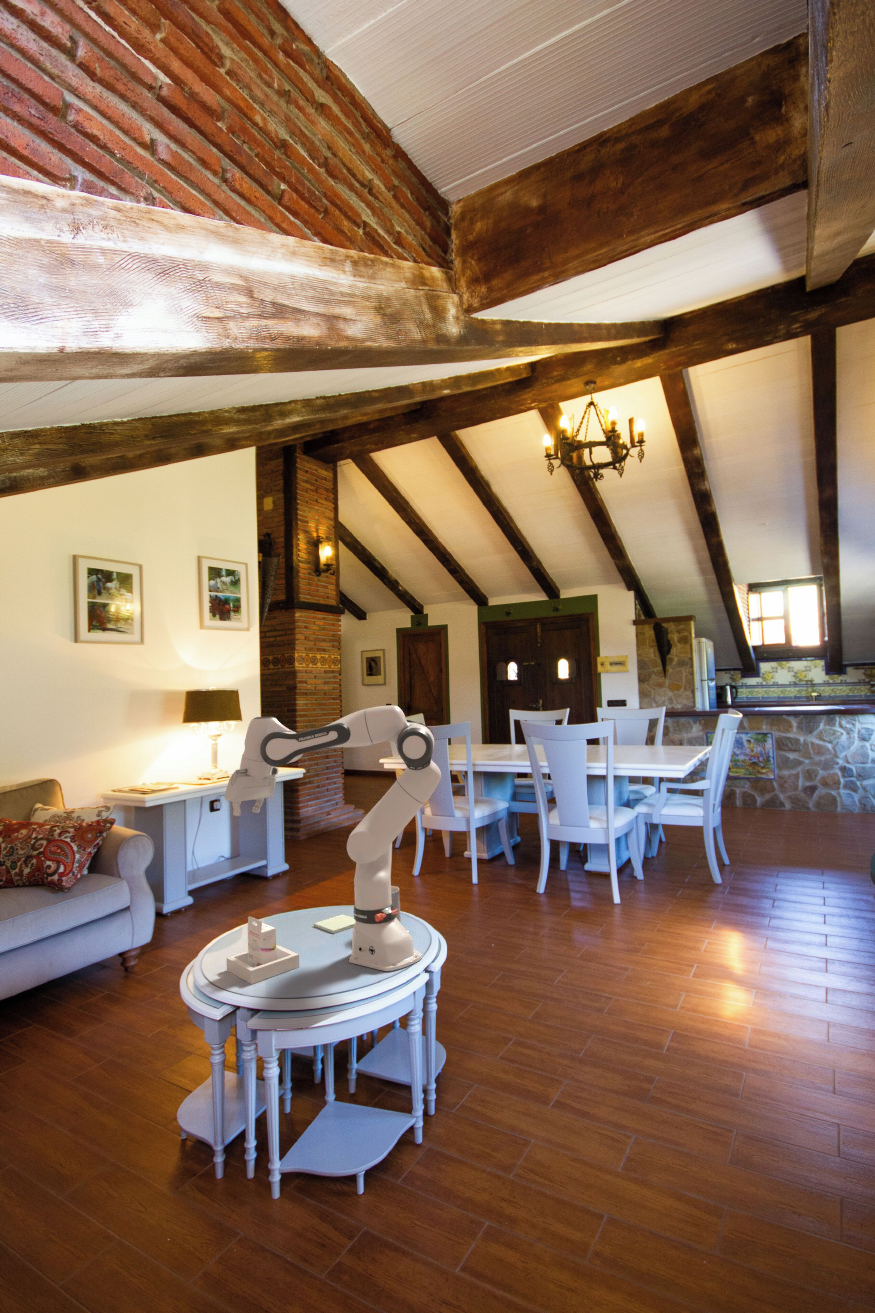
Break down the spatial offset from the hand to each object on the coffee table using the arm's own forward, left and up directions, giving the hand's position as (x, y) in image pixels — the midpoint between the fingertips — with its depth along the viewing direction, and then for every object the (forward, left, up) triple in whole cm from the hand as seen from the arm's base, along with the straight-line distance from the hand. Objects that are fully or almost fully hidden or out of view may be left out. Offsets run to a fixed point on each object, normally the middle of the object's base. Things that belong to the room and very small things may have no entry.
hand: (246, 814), depth 197 cm
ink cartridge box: (-8, 0, -44) cm, 44 cm away
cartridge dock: (-8, 0, -44) cm, 44 cm away
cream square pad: (+6, -36, -44) cm, 57 cm away
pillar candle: (-13, -42, -44) cm, 62 cm away
